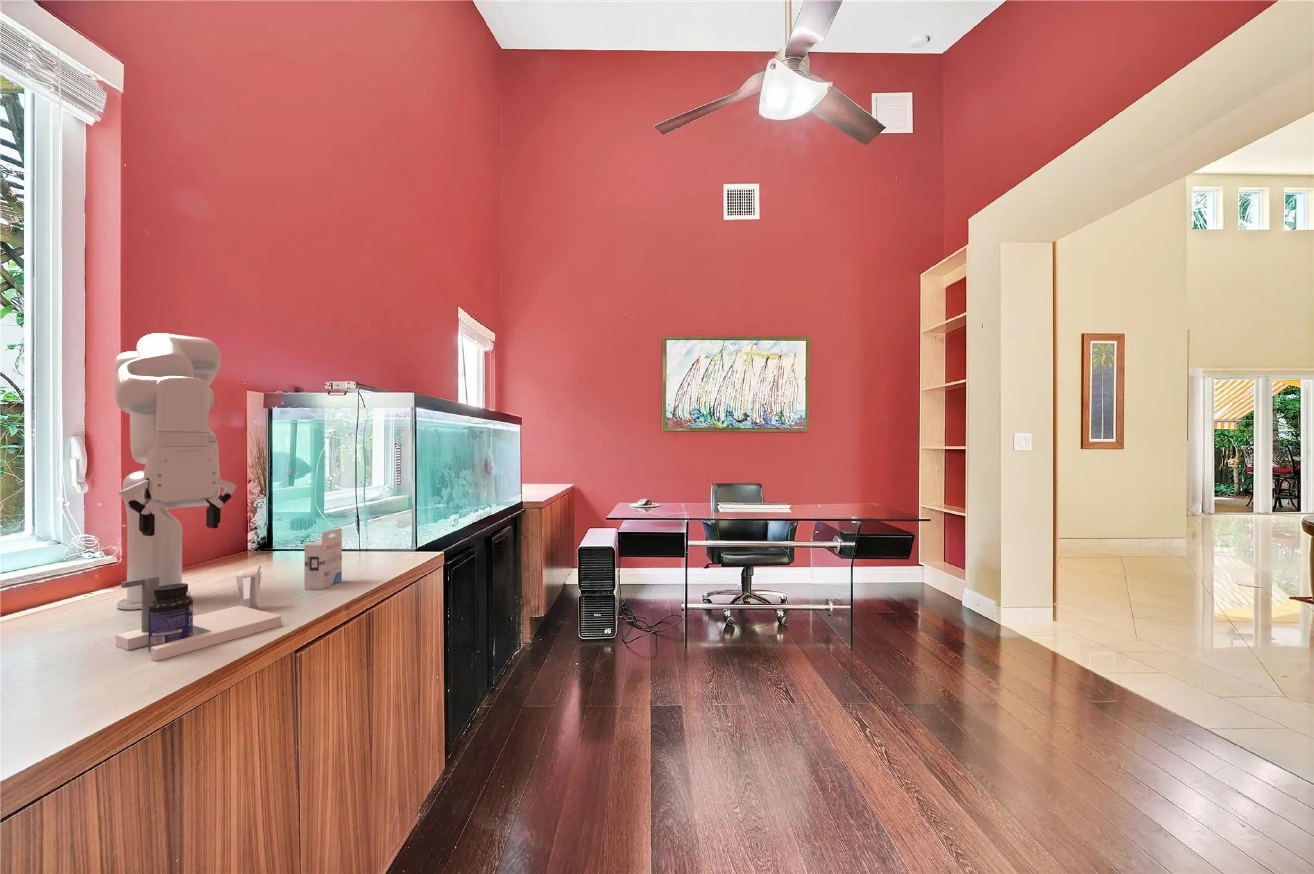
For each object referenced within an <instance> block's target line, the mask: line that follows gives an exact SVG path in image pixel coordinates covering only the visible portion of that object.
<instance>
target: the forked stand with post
mask: <svg viewBox="0 0 1314 874" xmlns="http://www.w3.org/2000/svg"><path fill="white" fill-rule="evenodd" d="M139 585H142V609H141V626H140V627H141V628H139V629H134V630H131V631H127V632H122V633H119V634H118V633H117V634H115V646H116V647H119V648H120V649H124V650H125V651H130V650H134V649H138V648H141V647H145V646H149V605H150V604H151V603H152V602H153V601H155V600H156V597H155V596H154V589H155V588H157V587H159V576H150V577H145V578H142V579H137V580H131V581H127V580H125V581H121V582H120V588H121V589H127V587H133V586H139ZM280 626H282V615H280V614H275V613H271V612H268V611H263V610H259V609H252V608H248V607H244V606H239V605H237V606H232V607H228V608H223V609H219V610H215V611H211V612H207V613H202V614H198V615H195V616H194V615H193V636H192V637H188V638H185V639H181V640H177V641H173V642H169V643H166V644H162V645H158V646H154V647H151V650H150V660H152V661H155V662H157V661H161V660H165V659H168V658H171V657H175V656H178V655H183V654H186V653H188V652H189V653H190V652H192V651H196V650H200V649H202V648H203V649H204V648H206V647H211V646H214V645H218V644H221V643H224V642H229V641H232V640H235V639H240V638H241V637H246V636H249V635H252V634H253V635H254V634H256V633H260V632H264V631H266V630H270V629H271V630H272V629H274V628H277V627H280Z"/></svg>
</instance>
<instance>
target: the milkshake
mask: <svg viewBox="0 0 1314 874" xmlns="http://www.w3.org/2000/svg"><path fill="white" fill-rule="evenodd" d="M261 568H262V565H259V566H258V568H245V569H243V570H240V571H238V572H237V573H236V585H237V591H238V592H237V593H238V602H239V605H238V606H244V607H248V608H252V609H256V610H258V608H259V599H260V589H261V580H262V571H261Z"/></svg>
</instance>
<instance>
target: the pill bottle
mask: <svg viewBox="0 0 1314 874" xmlns="http://www.w3.org/2000/svg"><path fill="white" fill-rule="evenodd" d="M187 591H189V583H183V582H182V583H178V584H169V585H164V586H160V587H157V588H155V589H154V596H155V597H156V600H155V601H153V602H152V603H151V604H150V605H149V645H148V649H149V650H150V651H151V647H154V646H158V645H162V644H166V643H169V642H173V641H177V640H181V639H185V638H188V637H192V636H193V616H194V600H193V598H192V597H191V595H190V596H187V595H186V592H187Z"/></svg>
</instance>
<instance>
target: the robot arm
mask: <svg viewBox="0 0 1314 874" xmlns="http://www.w3.org/2000/svg"><path fill="white" fill-rule="evenodd" d="M135 348H136V351H135V350H133V351H126V352H121V353H120V354H118V355H117V357H116V358H115V361H114V375H115V376H114V381H113V388H114V396H115V401H116V404H117V406H118V408H119V410H120V411H122V412H123V413H126V414H129V431H130V432H129V435H130V452H131V457H132V459H133V460H134V461H135V462H136V463H138V464H143V465H144V469H143V470H142V469H141V470H137V471H134V472H132V473H130V474H128V475H127V476H125V478H124V479H123V481H122V490H120V491H119V492H118V495H119V496H120V497H121V499H122V500H123V502H124V506H125V513H126V522H127V525H126V526H127V527H126V528H127V529H126V530H127V531H126V532H127V535H126V536H127V538H126V539H127V540H126V541H127V543H126V544H127V545H126V546H127V549H126V550H127V551H126V552H127V553H126V554H127V555H126V556H127V557H126V558H127V560H126V561H127V564H126V581H131V580H137V579H142V578H145V577H150V576H159V587H160V586H164V585H169V584H178V583H183V526H182V523H181V521H180V520H179V519H177V518H176V517H175V516H174V515H172V514H171V513H170V512H169V511H168V510H170V509H177V508H178V509H179V508H180V509H181V508H192V507H193V508H194V507H203V506H205V507H206V506H208V507H207V508H206V513H205V514H206V515H205V516H206V518H205V519H206V520H205V521H206V522H205V523H206V525H205V526H206V528H210V529H218V528H219V524H220V523H221V509H222V508H223V507H224V505H225V504H226V503H227V502H228V501H229V500H230V499H231V498H232V495H233V494H234V492H235V490H236V488H237V487H238V486H237V484H235V483H233V482H231V481H228V480H225V479H223V478H221V473H220V472H221V471H220V457H219V443H218V438H217V436H216V434H215V432H214V431H213V430H212V429H210V428H209V426H210V425H209V424H210V423H209V421H210V420H209V417H210V415H209V414H210V410H212V409H213V407H214V403H215V396H214V395H215V394H214V390H213V389H212V388H211V387H210V386H211V385H212V383H213V381H214V379H215V377H216V376H217V374H218V372H219V370H220V367H221V362H222V357H221V356H222V355H221V352H220V349H219V346H218V345H217V344H216V342H214V341H212V339H209V338H204V337H197V336H190V335H189V336H188V335H182V334H181V335H179V334H173V333H162V332H161V333H159V332H157V333H151V334H147V335H145V336H143V337H141V338H140V339H139V340H138V341H137V344H136V346H135ZM221 488H223V492H222V493H221ZM186 595H187V596H190V597H191V591H189V590H188V591H187V592H186ZM116 607H117V608H118V609H119V610H142V585H139V586H133V587H127V588H126V598H123V599H120V600H119V601H118V602H117V603H116Z"/></svg>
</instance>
